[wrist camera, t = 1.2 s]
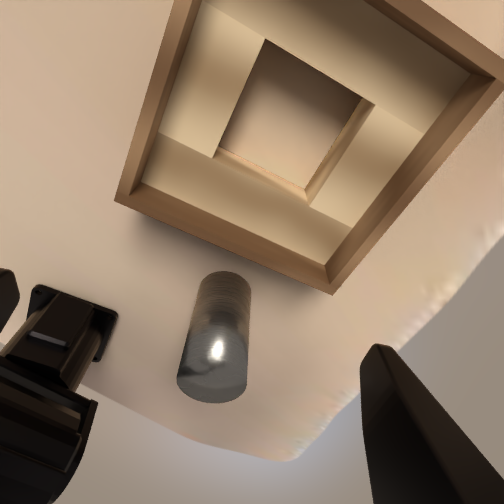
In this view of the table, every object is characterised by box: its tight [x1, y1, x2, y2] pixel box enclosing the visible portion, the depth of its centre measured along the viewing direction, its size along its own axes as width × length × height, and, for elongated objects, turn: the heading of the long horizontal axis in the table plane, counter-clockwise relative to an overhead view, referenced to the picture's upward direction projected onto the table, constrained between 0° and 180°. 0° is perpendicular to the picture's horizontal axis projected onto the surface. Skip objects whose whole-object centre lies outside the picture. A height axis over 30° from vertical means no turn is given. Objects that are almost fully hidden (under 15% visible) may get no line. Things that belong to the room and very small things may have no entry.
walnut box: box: [114, 0, 504, 296], centre depth 17 cm, size 13×13×4 cm
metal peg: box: [177, 271, 251, 403], centre depth 22 cm, size 4×4×8 cm
